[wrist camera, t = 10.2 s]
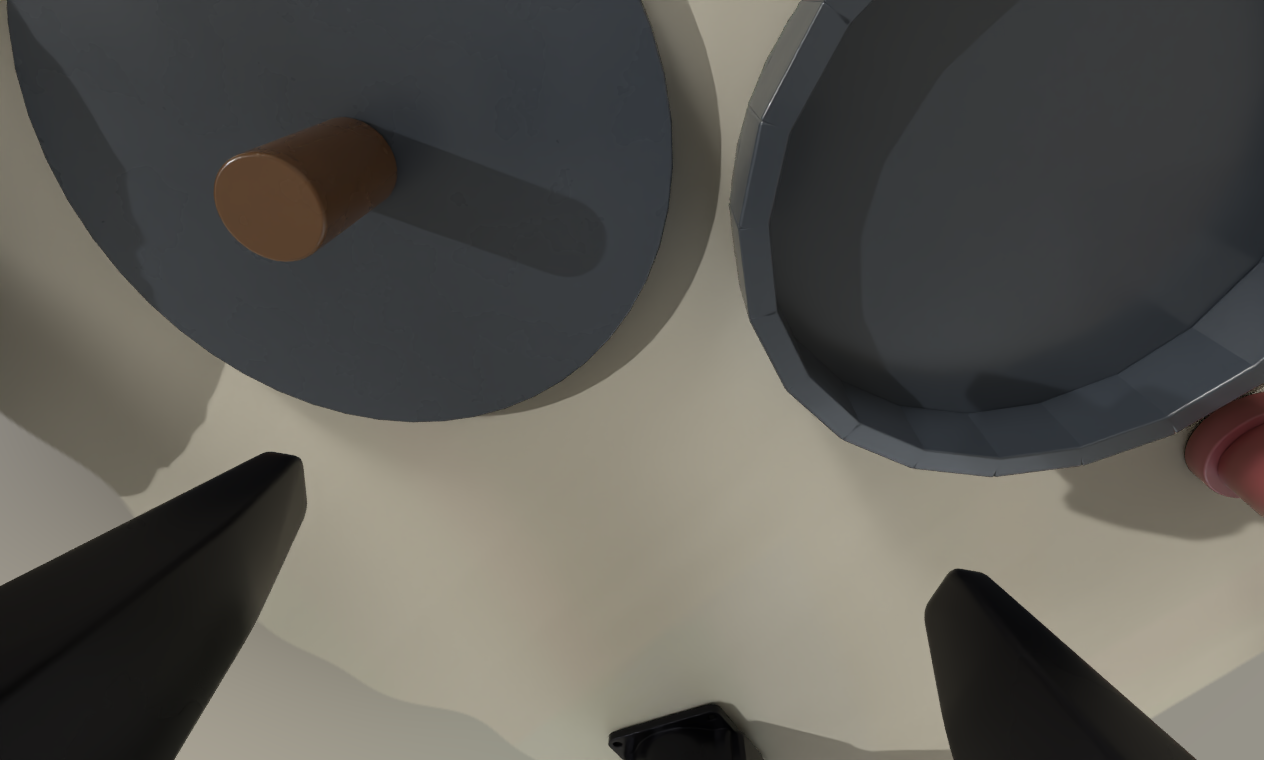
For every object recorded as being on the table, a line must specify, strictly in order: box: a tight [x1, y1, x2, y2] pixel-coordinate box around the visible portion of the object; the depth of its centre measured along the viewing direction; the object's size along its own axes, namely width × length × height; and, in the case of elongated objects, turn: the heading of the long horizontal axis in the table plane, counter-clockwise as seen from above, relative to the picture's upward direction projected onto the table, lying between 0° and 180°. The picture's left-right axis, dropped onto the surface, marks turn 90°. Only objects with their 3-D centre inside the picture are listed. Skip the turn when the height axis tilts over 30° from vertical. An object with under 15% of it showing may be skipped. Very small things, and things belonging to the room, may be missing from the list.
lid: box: [7, 0, 673, 422], centre depth 16 cm, size 18×18×6 cm
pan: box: [729, 0, 1264, 477], centre depth 17 cm, size 17×17×3 cm
